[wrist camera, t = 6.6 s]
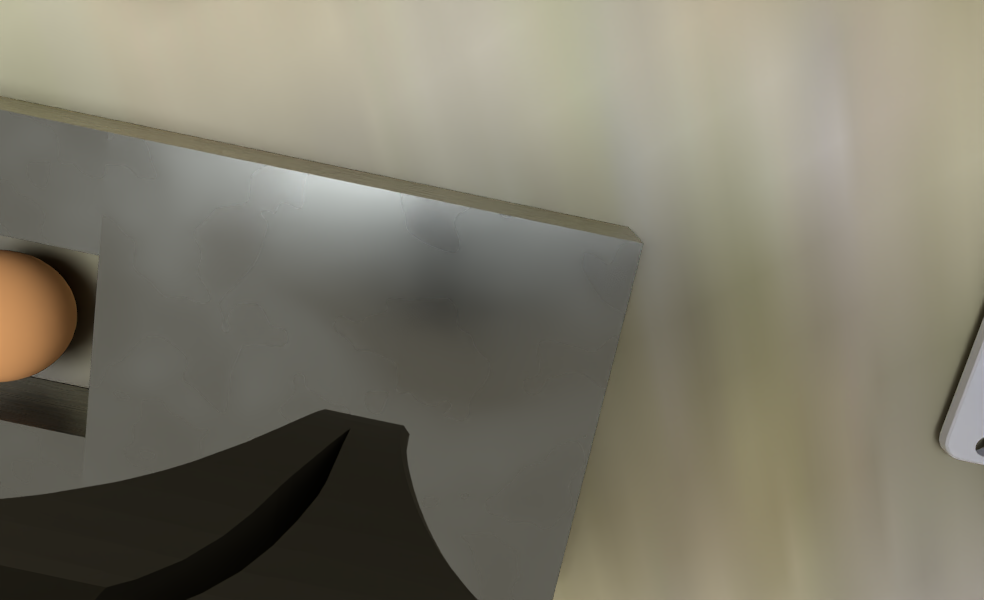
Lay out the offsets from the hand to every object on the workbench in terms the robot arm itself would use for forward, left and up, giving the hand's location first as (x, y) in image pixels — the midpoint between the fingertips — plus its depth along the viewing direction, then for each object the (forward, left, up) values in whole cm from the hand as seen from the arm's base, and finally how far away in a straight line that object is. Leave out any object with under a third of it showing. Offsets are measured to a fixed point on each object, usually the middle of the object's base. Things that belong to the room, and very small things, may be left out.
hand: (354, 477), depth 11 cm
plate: (+5, +1, -8) cm, 10 cm away
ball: (+10, +1, -7) cm, 12 cm away
